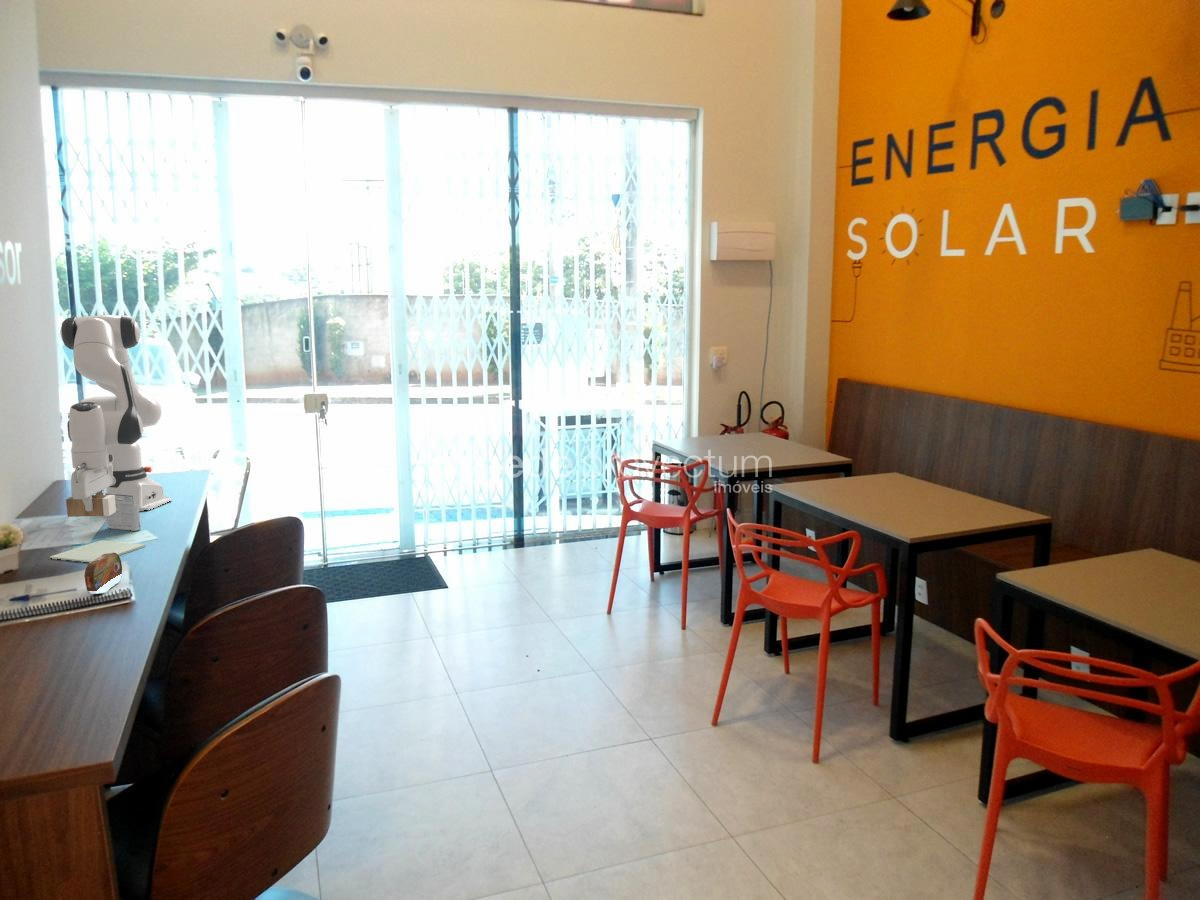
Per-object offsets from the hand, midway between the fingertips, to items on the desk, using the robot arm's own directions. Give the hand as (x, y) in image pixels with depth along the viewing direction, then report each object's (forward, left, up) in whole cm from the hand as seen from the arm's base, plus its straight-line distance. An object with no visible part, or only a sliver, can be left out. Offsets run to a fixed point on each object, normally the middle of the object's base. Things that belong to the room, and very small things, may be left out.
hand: (94, 508), depth 255 cm
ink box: (-23, -13, -14) cm, 30 cm away
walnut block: (+3, -6, +1) cm, 6 cm away
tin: (+25, +27, -14) cm, 39 cm away
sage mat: (0, 0, -13) cm, 13 cm away
